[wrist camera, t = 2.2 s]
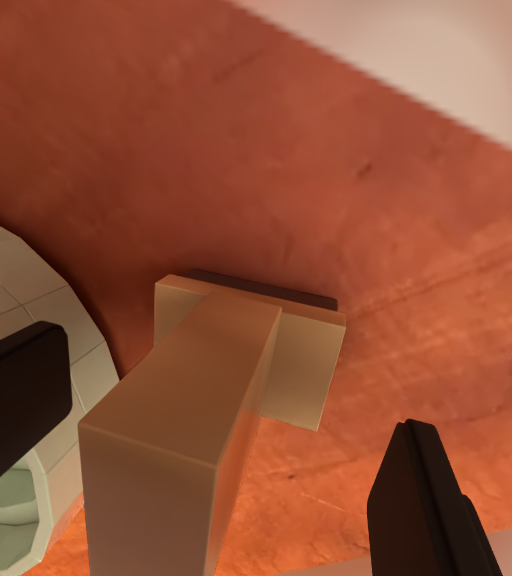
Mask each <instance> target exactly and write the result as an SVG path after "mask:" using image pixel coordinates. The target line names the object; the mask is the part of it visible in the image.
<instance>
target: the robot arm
mask: <svg viewBox="0 0 512 576" xmlns="http://www.w3.org/2000/svg"><path fill="white" fill-rule="evenodd" d="M72 406H73V401H72V387H71V373H70V359H69V346H68V335H67V333H66V332H65V330H64V328H63V326H61V325H59V324H55V323H51V322H47V321H37V322H35V323H33V324H31V325H29V326H27V327H25V328H23V329H21V330H19V331H17V332H15V333H13V334H11V335H9V336H7V337H5V338H3V339H1V340H0V477H1V476H2V475H3V474H4V473H5V472H7V471H8V470H9V469H10V468H11V467H12V466H13V465H14V464H15V463H17V462H18V461H19V460H20V459H21V458H22V457H23V456H24V455H25V454H26V453H28V452H29V451H30V450H31V449H32V448H33V447H34V446H35V445H36V444H38V443H39V442H40V441H41V440H42V439H43V438H44V437H45V436H46V435H48V434H49V433H50V432H51V431H52V430H53V429H54V428H55V427H56V426H57V425H59V424H60V423H61V422H62V421H63V420H64V419H65V418H66V417H67V416H68V415H69V413H70V412H71V410H72ZM367 520H368V531H369V542H370V553H371V564H372V574H373V576H503V575H502V573H501V570H500V568H499V565H498V563H497V561H496V558H495V556H494V554H493V551H492V549H491V546H490V544H489V541H488V539H487V537H486V534H485V532H484V529H483V527H482V524H481V522H480V520H479V517H478V515H477V512H476V510H475V508H474V506H473V504H472V502H471V500H470V499H469V498H468V497H467V496H466V495H463V494H462V493H461V490H460V488H459V485H458V483H457V480H456V478H455V475H454V473H453V470H452V468H451V465H450V462H449V460H448V457H447V455H446V452H445V450H444V447H443V445H442V442H441V440H440V437H439V434H438V432H437V429H436V428H435V426H434V425H432V424H428V423H424V422H421V421H417V420H413V419H407V420H406V421H405V423H401V422H398V424H397V425H396V427H395V430H394V433H393V435H392V438H391V440H390V443H389V445H388V448H387V451H386V453H385V456H384V458H383V461H382V463H381V466H380V469H379V471H378V474H377V476H376V479H375V481H374V484H373V487H372V489H371V492H370V494H369V497H368V502H367Z"/></svg>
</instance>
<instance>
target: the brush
mask: <svg viewBox="0 0 512 576" xmlns="http://www.w3.org/2000/svg"><path fill="white" fill-rule="evenodd" d="M345 331H346V315H345V314H344V313H341V312H338V302H337V300H335V299H330V298H325V297H321V296H316V295H312V294H307V293H303V292H298V291H294V290H289V289H284V288H280V287H275V286H271V285H266V284H262V283H257V282H253V281H248V280H243V279H239V278H234V277H230V276H225V275H221V274H216V273H212V272H207V271H202V270H198V269H191V270H189V271H188V272H186V273H185V274H184V275H182V276H176V275H172V274H169V275H167V276H165V277H164V278H162V279H161V280H159V281H157V282H156V283H155V299H154V339H153V349H152V350H151V351H150V352H149V353H148V354H147V355H146V356H145V357H144V358H143V359H142V360H141V361H140V362H139V363H138V364H137V365H136V366H135V367H134V368H133V369H132V370H131V371H130V372H129V373H128V374H127V375H126V376H125V377H124V378H123V379H122V380H121V381H120V382H118V383H117V384H116V385H115V386H114V387H113V388H112V389H111V390H110V391H109V392H108V393H107V394H106V395H105V396H104V397H103V398H102V399H101V400H100V401H99V402H98V403H97V404H96V405H95V406H94V407H93V408H92V409H91V410H90V411H89V412H88V413H87V414H86V415H85V416H84V417H83V418H82V419H81V420H80V421H79V422H78V425H77V428H78V440H79V451H80V462H81V474H82V485H83V496H84V508H85V519H86V530H87V542H88V553H89V564H90V576H214V572H215V569H216V566H217V563H218V559H219V556H220V553H221V549H222V546H223V543H224V540H225V536H226V533H227V530H228V526H229V523H230V520H231V517H232V513H233V510H234V507H235V503H236V500H237V497H238V494H239V490H240V487H241V484H242V480H243V477H244V474H245V471H246V467H247V464H248V461H249V457H250V454H251V451H252V448H253V444H254V441H255V438H256V435H257V431H258V428H259V425H260V421H261V416H263V417H267V418H270V419H274V420H277V421H281V422H284V423H288V424H291V425H295V426H298V427H302V428H305V429H309V430H312V431H317V430H318V427H319V423H320V420H321V416H322V413H323V409H324V406H325V402H326V398H327V395H328V391H329V388H330V384H331V381H332V377H333V373H334V370H335V366H336V363H337V359H338V356H339V352H340V349H341V345H342V341H343V338H344V334H345Z"/></svg>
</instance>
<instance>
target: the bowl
mask: <svg viewBox="0 0 512 576" xmlns="http://www.w3.org/2000/svg"><path fill="white" fill-rule="evenodd" d="M37 321H47V322H51V323H55V324H59V325H61V326H63V328H64V330H65V332H66V333H67V335H68V346H69V359H70V373H71V387H72V401H73V406H72V410H71V412H70V413H69V415H68V416H67V417H66V418H65V419H64V420H63V421H62V422H61V423H60V424H59V425H57V426H56V427H55V428H54V429H53V430H52V431H51V432H50V433H49V434H48V435H46V436H45V437H44V438H43V439H42V440H41V441H40V442H39V443H38V444H36V445H35V446H34V447H33V448H32V449H31V450H30V451H29V452H28V453H26V454H25V455H24V456H23V457H22V458H21V459H20V460H19V461H18V462H17V463H15V464H14V465H13V466H12V467H11V468H10V469H9V470H8V471H7V472H5V473H4V474H3V475H2V476H1V477H0V576H20V575H22V574H23V573H25V572H26V571H28V570H29V569H31V568H32V567H34V566H35V565H37V564H38V563H40V562H41V561H42V560H43V559H44V557H45V556H46V555H47V553H48V552H49V551H50V549H51V548H52V547H53V545H54V544H55V543H56V541H57V540H58V539H59V537H60V536H61V535H62V533H63V532H64V531H65V529H66V528H67V527H68V525H69V524H70V523H71V521H72V520H73V519H74V517H75V516H76V515H77V513H78V512H79V511H80V509H81V508H82V507H83V505H84V496H83V485H82V474H81V462H80V451H79V440H78V428H77V425H78V422H79V421H80V420H81V419H82V418H83V417H84V416H85V415H86V414H87V413H88V412H89V411H90V410H91V409H92V408H93V407H94V406H95V405H96V404H97V403H98V402H99V401H100V400H101V399H102V398H103V397H104V396H105V395H106V394H107V393H108V392H109V391H110V390H111V389H112V388H113V387H114V386H115V385H116V384H117V383H118V382H120V380H119V378H118V375H117V372H116V369H115V366H114V363H113V360H112V357H111V354H110V351H109V349H108V346H107V343H106V340H104V339H105V338H104V337H103V335H102V334H101V332H100V331H99V329H98V328H97V326H96V325H95V323H94V322H93V320H92V319H91V317H90V315H89V314H88V312H87V311H86V309H85V308H84V306H83V305H82V303H81V302H80V300H79V299H78V297H77V296H76V294H75V293H74V291H73V290H72V288H71V287H70V286H69V284H68V283H67V282H66V281H65V280H64V279H63V278H62V277H61V276H60V275H59V274H58V273H57V272H56V271H55V270H54V269H53V268H52V267H51V266H49V265H48V264H47V263H46V262H45V261H44V260H43V259H42V258H41V257H40V256H39V255H38V254H37V253H36V252H35V251H34V250H33V249H32V248H31V247H30V246H28V245H27V244H26V243H25V242H24V241H23V240H22V239H21V238H20V237H18V236H16V235H15V234H13V233H11V232H9V231H8V230H6V229H4V228H2V227H1V226H0V340H1V339H3V338H5V337H7V336H9V335H11V334H13V333H15V332H17V331H19V330H21V329H23V328H25V327H27V326H29V325H31V324H33V323H35V322H37Z"/></svg>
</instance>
